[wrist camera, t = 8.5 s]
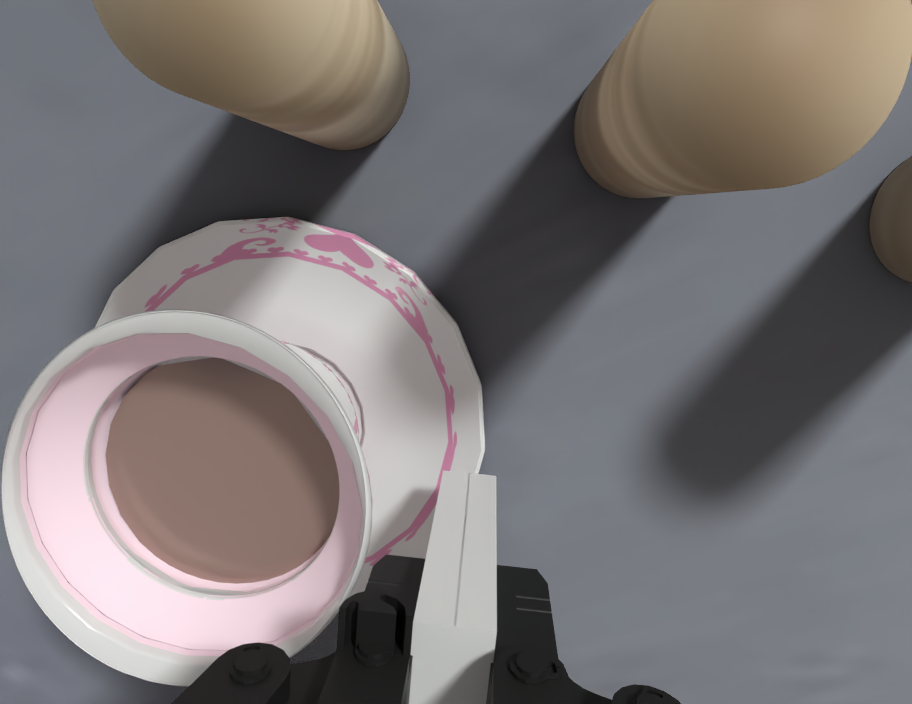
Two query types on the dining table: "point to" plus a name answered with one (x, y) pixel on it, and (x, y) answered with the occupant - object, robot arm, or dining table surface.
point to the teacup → (236, 445)
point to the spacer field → (604, 101)
